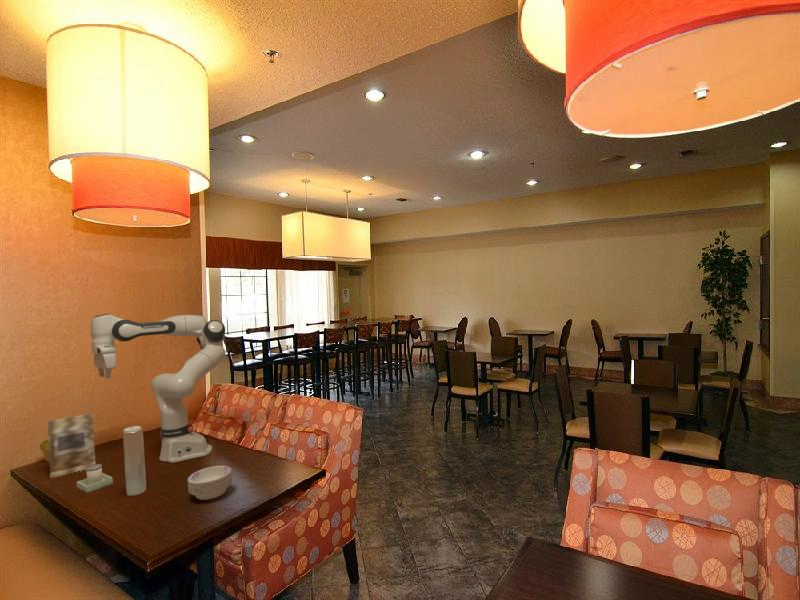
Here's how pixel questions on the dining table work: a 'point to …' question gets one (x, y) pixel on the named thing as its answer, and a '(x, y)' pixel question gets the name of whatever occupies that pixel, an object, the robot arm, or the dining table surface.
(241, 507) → the dining table surface
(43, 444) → the plant pot
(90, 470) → the cartridge
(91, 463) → the plate
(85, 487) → the service tray
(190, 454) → the robot arm
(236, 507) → the dining table surface
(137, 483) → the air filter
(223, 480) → the paper bowls
